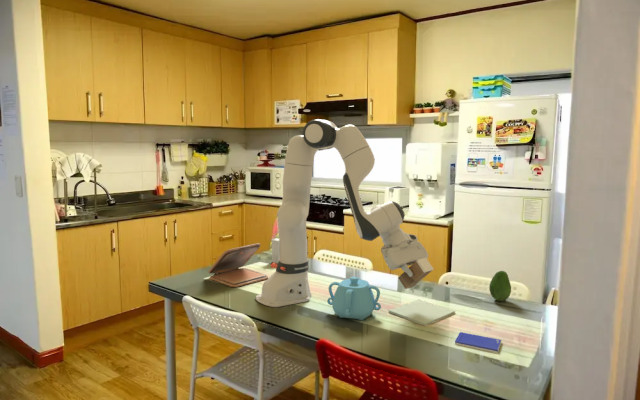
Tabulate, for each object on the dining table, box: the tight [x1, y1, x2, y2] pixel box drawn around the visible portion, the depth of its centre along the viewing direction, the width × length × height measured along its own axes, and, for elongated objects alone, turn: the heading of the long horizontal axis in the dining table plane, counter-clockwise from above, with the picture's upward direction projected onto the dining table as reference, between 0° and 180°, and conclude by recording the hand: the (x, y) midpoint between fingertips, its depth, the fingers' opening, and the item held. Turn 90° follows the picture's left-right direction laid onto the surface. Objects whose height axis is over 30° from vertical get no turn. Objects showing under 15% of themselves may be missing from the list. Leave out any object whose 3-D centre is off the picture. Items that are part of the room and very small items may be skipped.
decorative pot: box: [327, 276, 382, 321], centre depth 160 cm, size 16×16×14 cm
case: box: [208, 242, 269, 288], centre depth 202 cm, size 20×21×16 cm
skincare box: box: [271, 237, 280, 265], centre depth 230 cm, size 6×4×12 cm
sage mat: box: [388, 299, 456, 327], centre depth 163 cm, size 18×16×1 cm
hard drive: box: [454, 331, 502, 354], centre depth 138 cm, size 2×8×12 cm
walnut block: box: [398, 258, 434, 290], centre depth 163 cm, size 5×5×12 cm
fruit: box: [489, 270, 512, 302], centre depth 175 cm, size 8×8×12 cm
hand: (418, 274), depth 163 cm, fingers closed on walnut block, 5 cm apart
